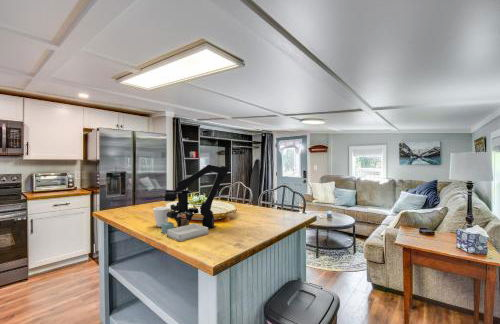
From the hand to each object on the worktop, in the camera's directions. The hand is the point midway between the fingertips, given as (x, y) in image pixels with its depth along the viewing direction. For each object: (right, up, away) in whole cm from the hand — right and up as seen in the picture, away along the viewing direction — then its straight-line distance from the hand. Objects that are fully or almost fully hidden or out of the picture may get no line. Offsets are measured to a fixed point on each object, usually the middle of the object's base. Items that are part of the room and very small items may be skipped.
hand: (183, 226), depth 151 cm
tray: (+6, -1, -13) cm, 14 cm away
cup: (-15, -1, +6) cm, 16 cm away
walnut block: (0, -1, 0) cm, 1 cm away
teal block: (-7, -1, -7) cm, 10 cm away
